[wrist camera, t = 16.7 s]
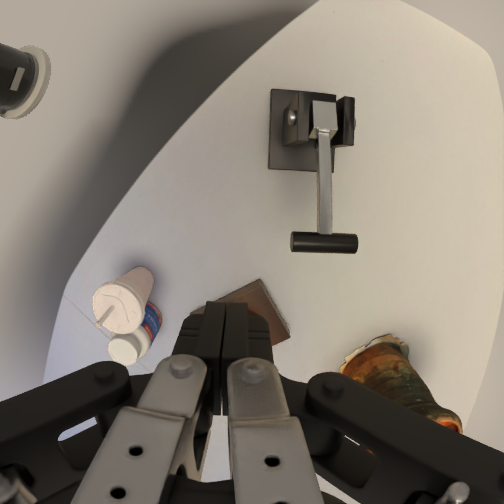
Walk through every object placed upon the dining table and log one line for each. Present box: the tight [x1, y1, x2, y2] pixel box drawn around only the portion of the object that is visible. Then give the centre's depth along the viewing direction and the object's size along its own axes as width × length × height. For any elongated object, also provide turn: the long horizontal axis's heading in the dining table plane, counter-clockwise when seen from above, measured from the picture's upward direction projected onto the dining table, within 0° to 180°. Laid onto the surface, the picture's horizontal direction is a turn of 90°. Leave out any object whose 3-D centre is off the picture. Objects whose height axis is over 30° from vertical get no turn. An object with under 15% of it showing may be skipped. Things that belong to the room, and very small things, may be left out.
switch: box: [290, 100, 358, 254], centre depth 26 cm, size 13×6×2 cm, turn 178°
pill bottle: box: [108, 302, 162, 366], centre depth 39 cm, size 6×5×10 cm
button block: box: [190, 279, 290, 346], centre depth 42 cm, size 11×9×4 cm
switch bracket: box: [268, 89, 356, 173], centre depth 30 cm, size 10×8×13 cm
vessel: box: [340, 334, 463, 454], centre depth 37 cm, size 14×14×20 cm
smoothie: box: [92, 267, 154, 334], centre depth 35 cm, size 6×6×14 cm
